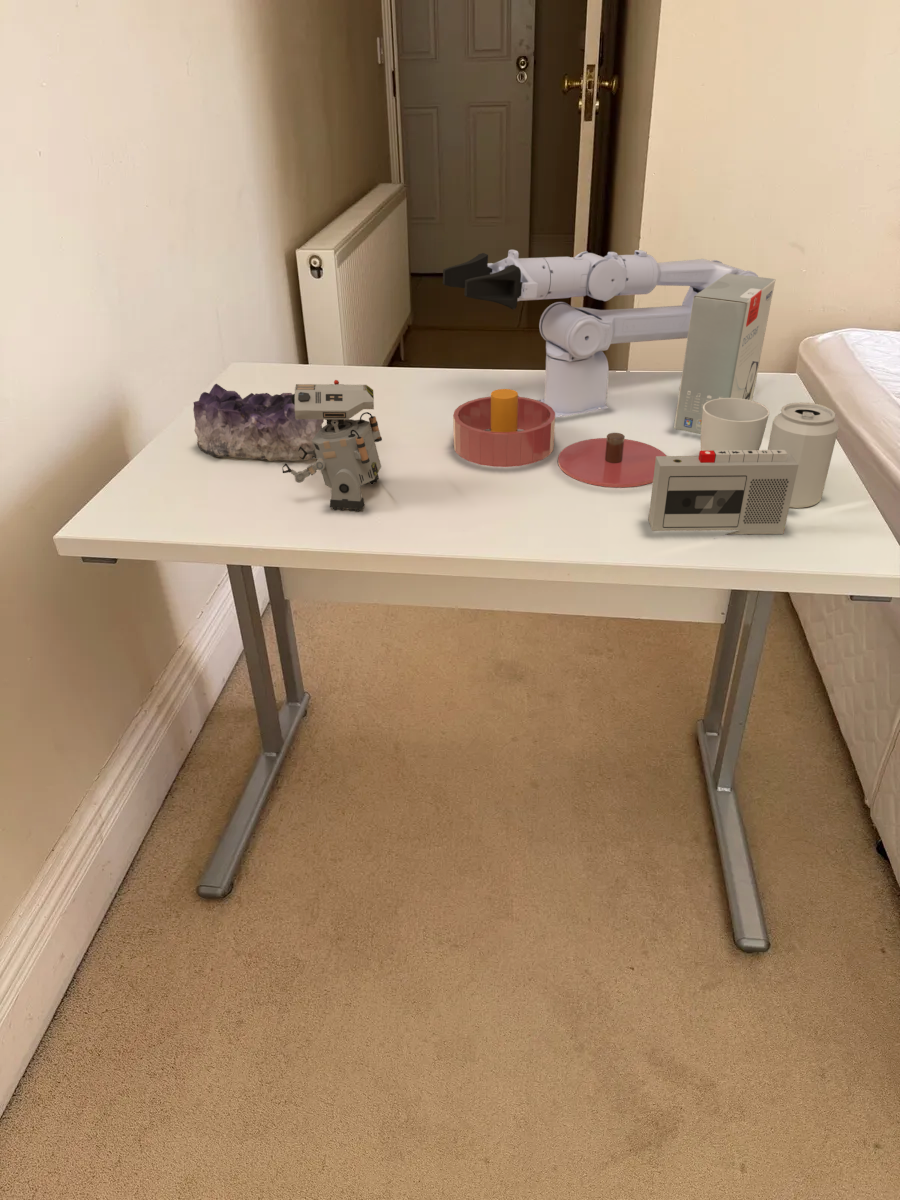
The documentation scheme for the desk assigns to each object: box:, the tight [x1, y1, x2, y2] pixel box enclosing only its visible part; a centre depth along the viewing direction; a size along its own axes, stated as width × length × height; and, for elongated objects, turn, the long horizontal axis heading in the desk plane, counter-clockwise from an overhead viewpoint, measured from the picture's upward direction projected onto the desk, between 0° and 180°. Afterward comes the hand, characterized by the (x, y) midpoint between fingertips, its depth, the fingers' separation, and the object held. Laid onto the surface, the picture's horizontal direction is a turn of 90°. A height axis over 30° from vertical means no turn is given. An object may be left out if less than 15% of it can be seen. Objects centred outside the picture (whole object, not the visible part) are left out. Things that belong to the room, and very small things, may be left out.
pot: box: [452, 395, 556, 468], centre depth 124 cm, size 14×14×5 cm
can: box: [767, 402, 840, 509], centre depth 107 cm, size 8×8×12 cm
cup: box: [699, 398, 770, 451], centre depth 112 cm, size 8×8×10 cm
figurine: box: [281, 379, 383, 512], centre depth 110 cm, size 9×12×15 cm
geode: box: [192, 383, 325, 462], centre depth 124 cm, size 20×12×10 cm, turn 84°
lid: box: [557, 432, 667, 488], centre depth 118 cm, size 15×15×5 cm
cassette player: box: [648, 449, 798, 535], centre depth 101 cm, size 16×3×10 cm, turn 89°
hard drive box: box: [673, 274, 776, 435], centre depth 127 cm, size 16×8×20 cm, turn 148°
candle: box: [490, 388, 519, 432], centre depth 123 cm, size 4×4×8 cm
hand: (454, 282), depth 120 cm, fingers open, 7 cm apart
